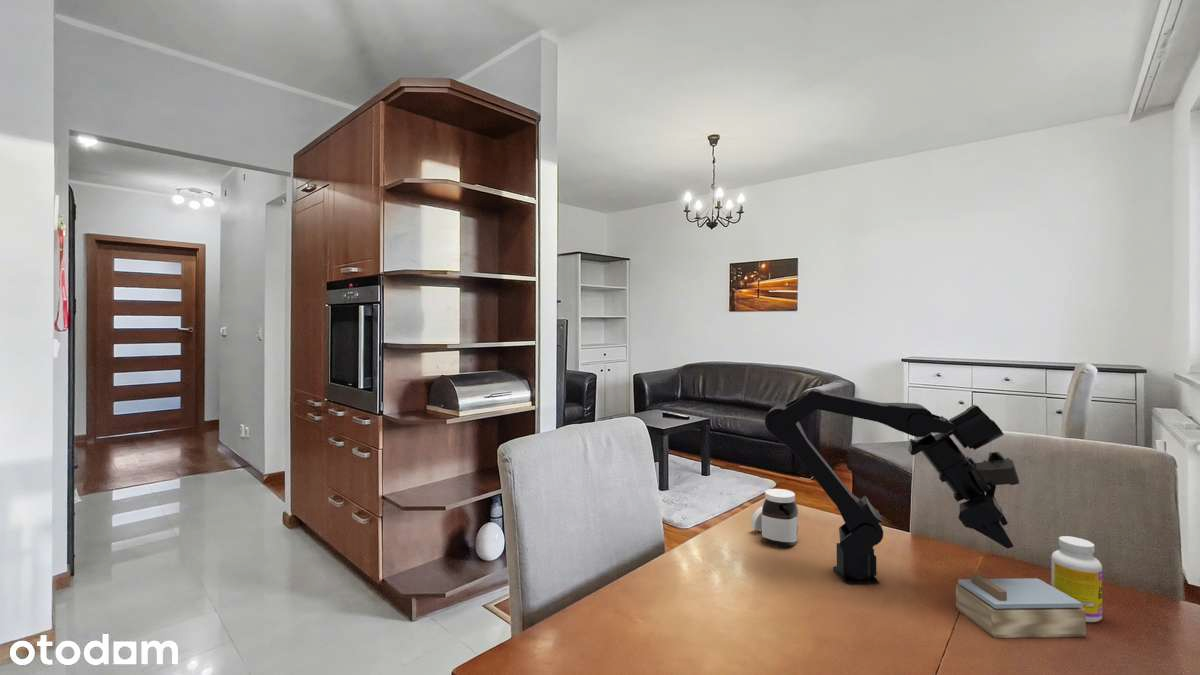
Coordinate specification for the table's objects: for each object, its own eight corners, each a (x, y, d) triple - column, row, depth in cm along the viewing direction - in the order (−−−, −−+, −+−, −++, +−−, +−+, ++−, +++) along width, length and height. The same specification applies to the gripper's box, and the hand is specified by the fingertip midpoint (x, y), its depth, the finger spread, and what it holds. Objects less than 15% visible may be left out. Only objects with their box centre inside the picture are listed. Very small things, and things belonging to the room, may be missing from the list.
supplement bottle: (1107, 628, 87) (1107, 552, 87) (1055, 617, 90) (1055, 543, 90) (1096, 610, 93) (1096, 538, 93) (1048, 600, 96) (1047, 531, 96)
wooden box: (994, 637, 84) (994, 611, 84) (956, 608, 93) (955, 584, 93) (1085, 636, 85) (1085, 610, 84) (1038, 607, 94) (1038, 583, 93)
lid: (995, 608, 85) (995, 595, 85) (958, 583, 93) (958, 571, 93) (1082, 607, 85) (1082, 594, 85) (1037, 582, 93) (1037, 570, 93)
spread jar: (791, 552, 118) (791, 501, 118) (742, 541, 124) (742, 493, 124) (803, 534, 128) (803, 487, 128) (757, 525, 134) (757, 481, 134)
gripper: (998, 460, 87) (1066, 543, 84) (989, 428, 103) (1046, 497, 99) (933, 487, 93) (995, 566, 90) (934, 453, 108) (987, 520, 105)
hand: (1007, 535), depth 96 cm, fingers open, 9 cm apart
